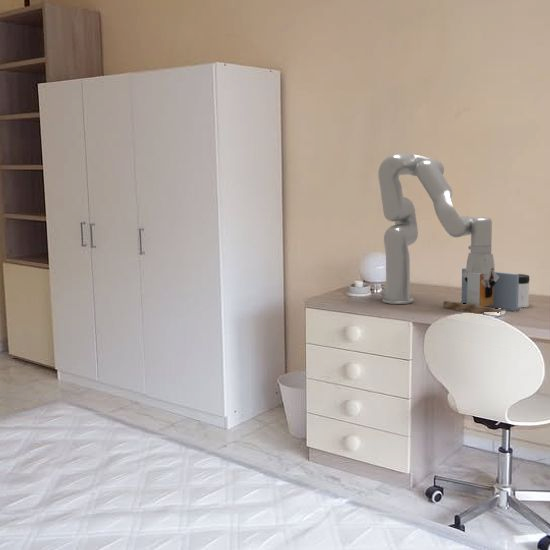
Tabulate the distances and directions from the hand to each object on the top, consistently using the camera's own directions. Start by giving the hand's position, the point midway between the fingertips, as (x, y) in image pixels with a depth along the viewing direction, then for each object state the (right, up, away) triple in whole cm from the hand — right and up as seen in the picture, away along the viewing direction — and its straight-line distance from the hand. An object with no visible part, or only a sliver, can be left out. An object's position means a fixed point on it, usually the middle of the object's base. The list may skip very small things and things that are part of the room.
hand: (480, 295), depth 275 cm
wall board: (+5, -5, +5) cm, 8 cm away
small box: (0, -4, +1) cm, 4 cm away
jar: (+16, -4, +5) cm, 17 cm away
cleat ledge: (-4, -6, -3) cm, 8 cm away
